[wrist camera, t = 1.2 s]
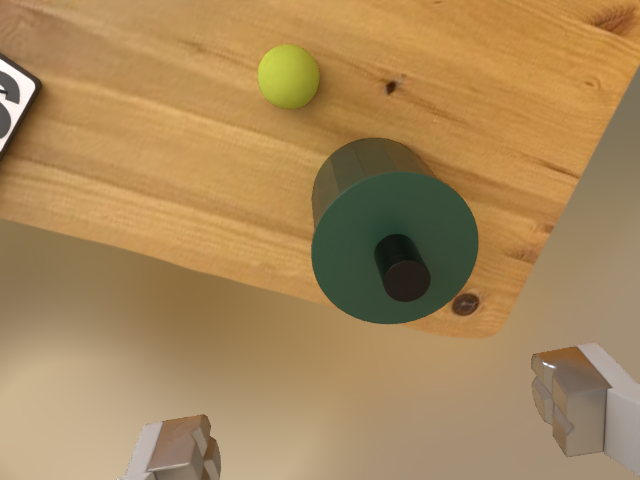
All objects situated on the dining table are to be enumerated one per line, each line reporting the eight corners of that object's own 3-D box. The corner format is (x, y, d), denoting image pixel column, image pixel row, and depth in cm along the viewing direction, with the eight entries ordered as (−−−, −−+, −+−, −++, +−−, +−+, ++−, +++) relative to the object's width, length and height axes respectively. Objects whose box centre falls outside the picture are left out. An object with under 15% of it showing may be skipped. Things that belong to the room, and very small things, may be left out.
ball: (280, 29, 44) (278, 32, 39) (329, 66, 46) (334, 72, 41) (248, 81, 46) (243, 89, 41) (297, 115, 47) (297, 126, 42)
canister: (359, 113, 47) (380, 145, 36) (453, 181, 50) (500, 230, 39) (289, 211, 51) (288, 268, 39) (381, 269, 54) (405, 338, 42)
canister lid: (377, 133, 36) (391, 153, 31) (507, 225, 39) (539, 258, 34) (279, 267, 40) (277, 305, 35) (404, 341, 43) (420, 385, 38)
